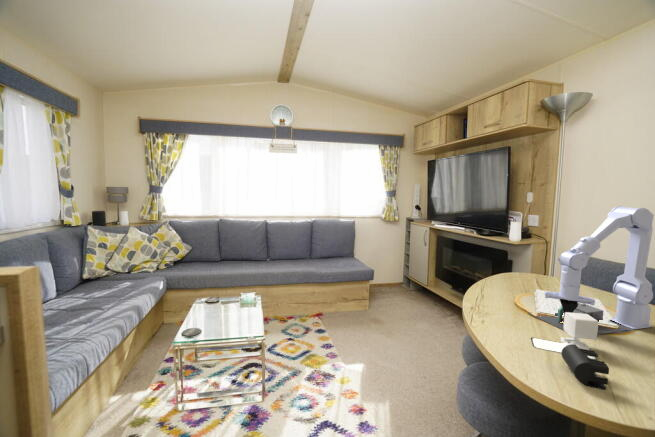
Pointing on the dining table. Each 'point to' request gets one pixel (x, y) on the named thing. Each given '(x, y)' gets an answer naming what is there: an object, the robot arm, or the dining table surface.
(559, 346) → the smartphone
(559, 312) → the side door
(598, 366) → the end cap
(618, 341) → the dining table surface
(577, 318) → the security camera
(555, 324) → the mat
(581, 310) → the housing
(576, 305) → the robot arm
